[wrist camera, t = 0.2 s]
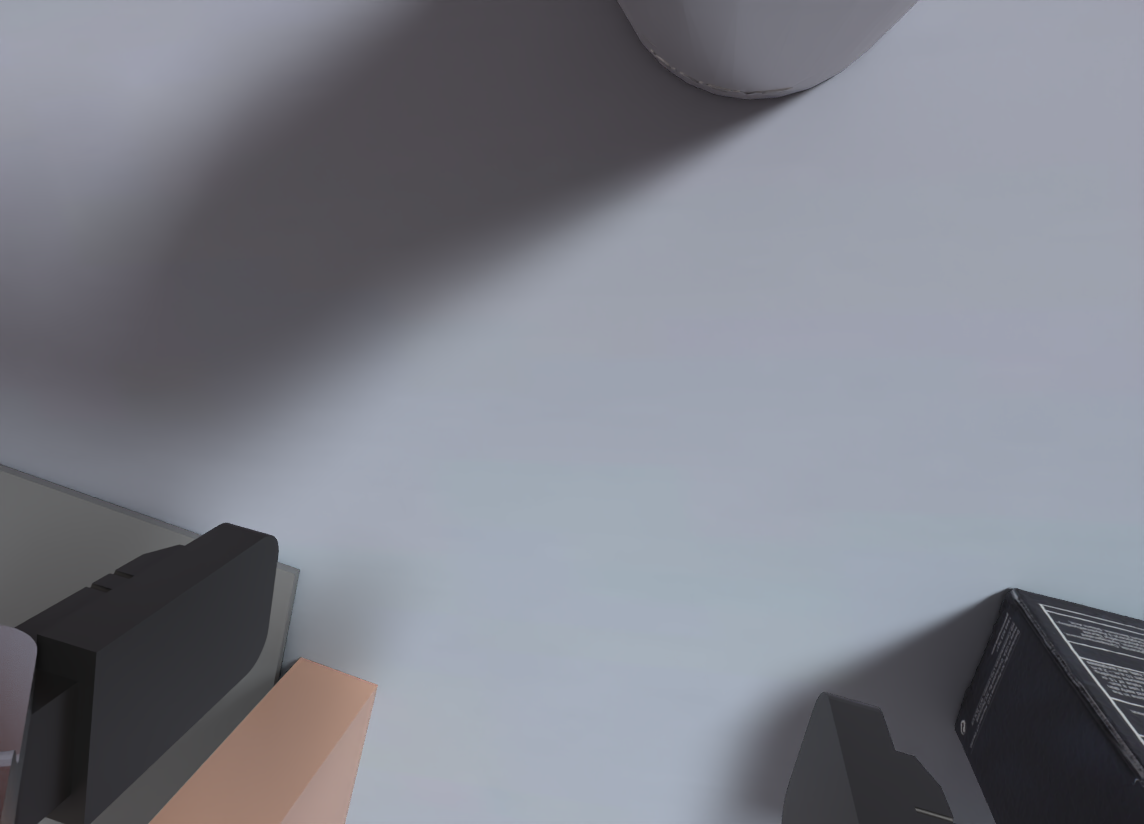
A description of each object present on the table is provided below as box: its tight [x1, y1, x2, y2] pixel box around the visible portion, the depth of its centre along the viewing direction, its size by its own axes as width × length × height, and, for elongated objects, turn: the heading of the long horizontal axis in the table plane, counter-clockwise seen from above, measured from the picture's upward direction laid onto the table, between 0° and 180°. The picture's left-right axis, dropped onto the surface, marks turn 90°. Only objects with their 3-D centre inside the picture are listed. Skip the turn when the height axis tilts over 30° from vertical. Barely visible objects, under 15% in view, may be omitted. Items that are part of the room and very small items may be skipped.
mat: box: [0, 465, 300, 824], centre depth 36 cm, size 18×16×1 cm
